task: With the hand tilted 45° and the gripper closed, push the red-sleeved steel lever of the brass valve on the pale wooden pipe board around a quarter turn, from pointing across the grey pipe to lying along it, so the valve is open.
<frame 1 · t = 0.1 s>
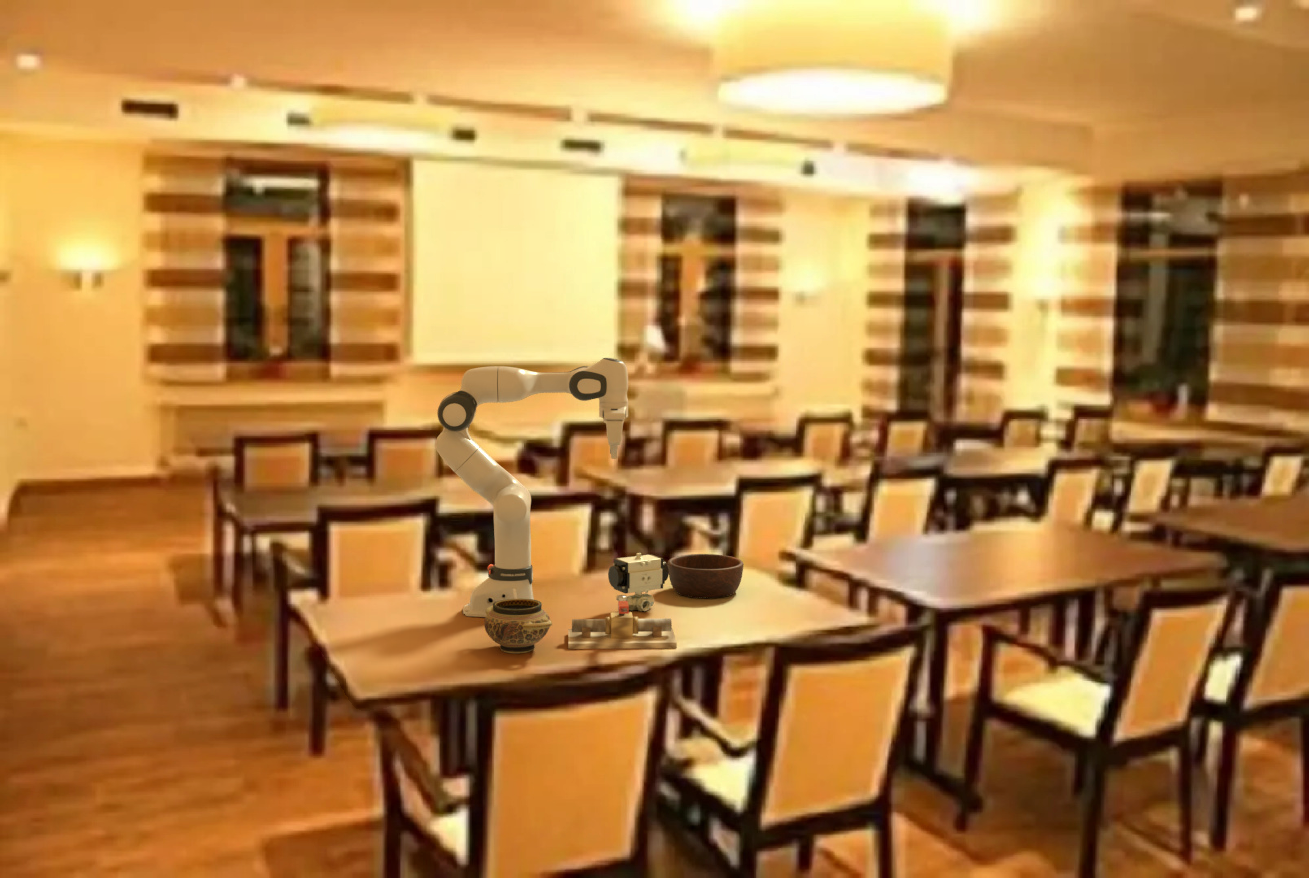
hand: (613, 456, 386), 48 cm above the table, tool pointing down, fingers open, 8 cm apart
pipe board: (621, 640, 357), on the table
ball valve: (639, 610, 392), on the table
wooden bowl: (705, 592, 416), on the table
valve lever: (622, 603, 349), point 12 cm above the table, hinge at 0.0°
ceramic bowl: (517, 649, 348), on the table
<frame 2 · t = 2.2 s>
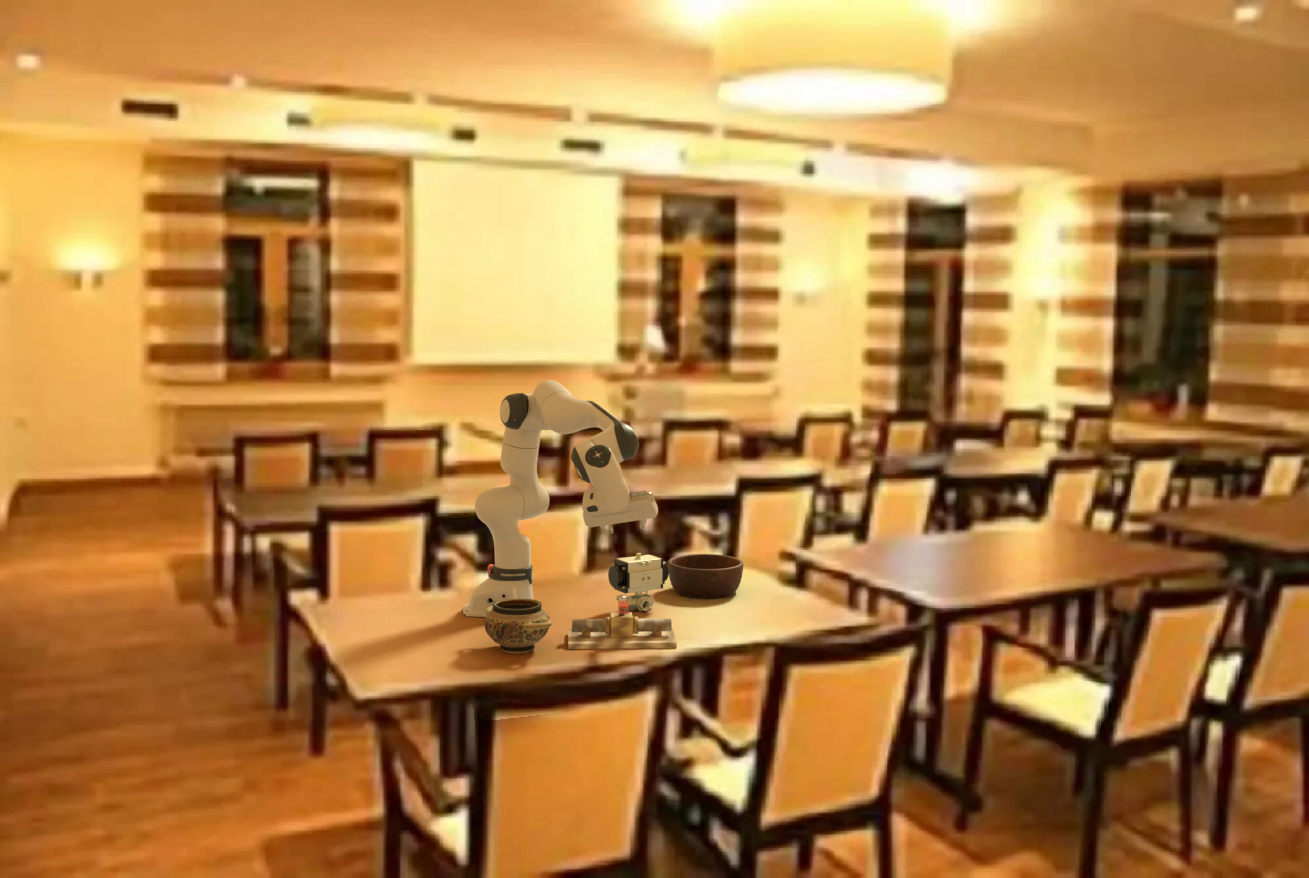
hand: (627, 529, 346), 33 cm above the table, tool tilted 40°, fingers open, 8 cm apart
nothing on the table moved.
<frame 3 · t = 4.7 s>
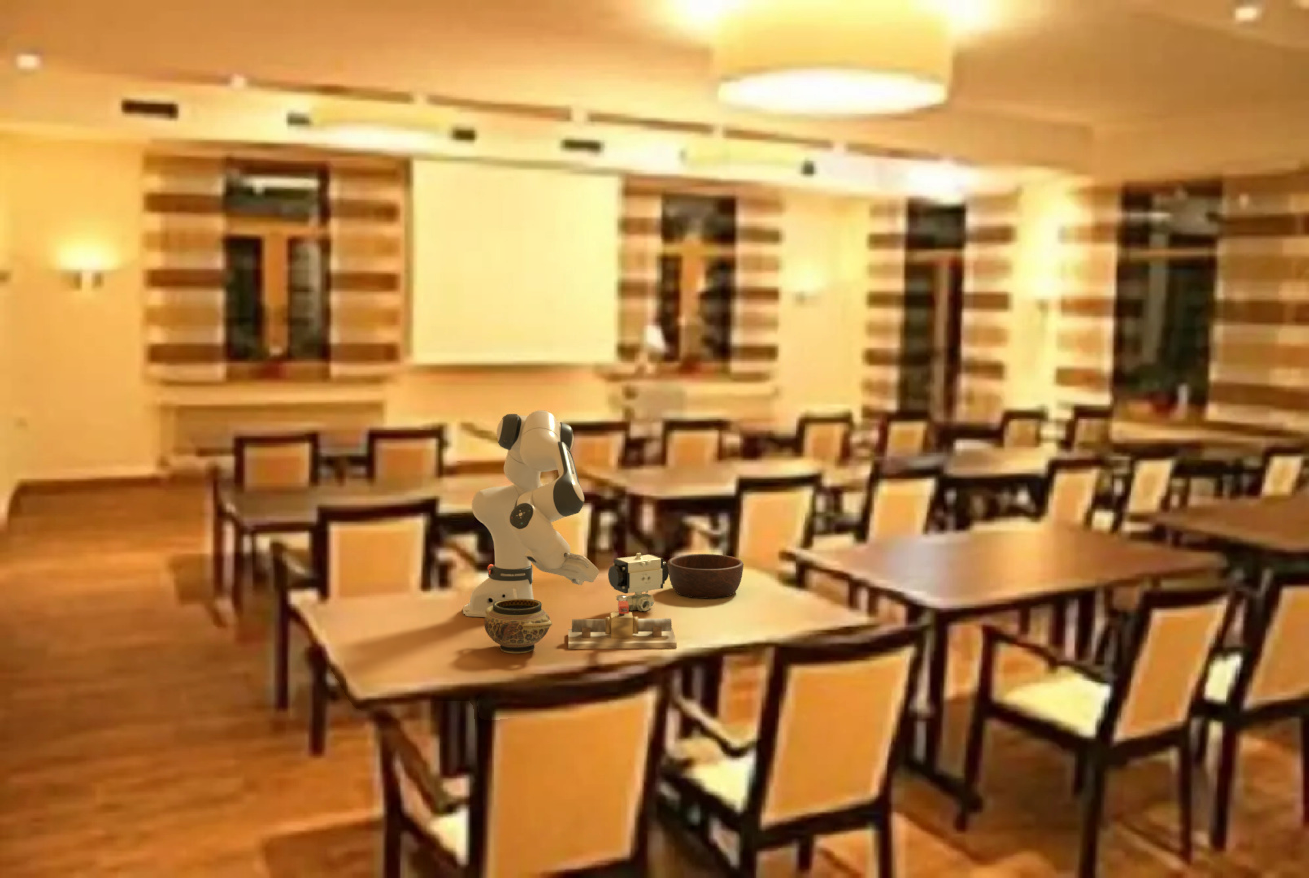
hand: (579, 582, 334), 22 cm above the table, tool tilted 45°, fingers closed
nothing on the table moved.
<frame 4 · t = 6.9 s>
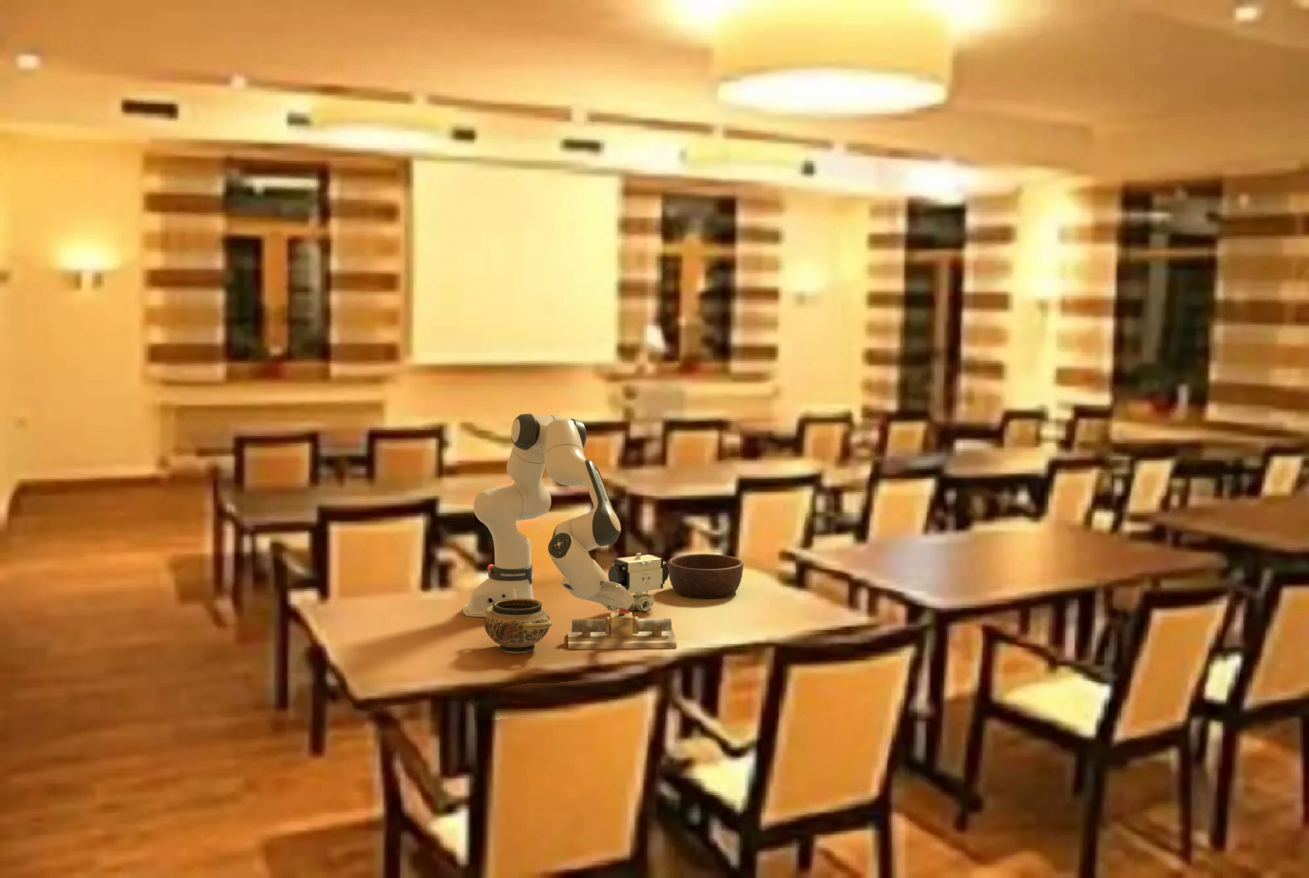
hand: (613, 608, 344), 12 cm above the table, tool tilted 45°, fingers closed
valve lever: (622, 603, 349), point 12 cm above the table, hinge at 0.3°, touching gripper
everything else where it was.
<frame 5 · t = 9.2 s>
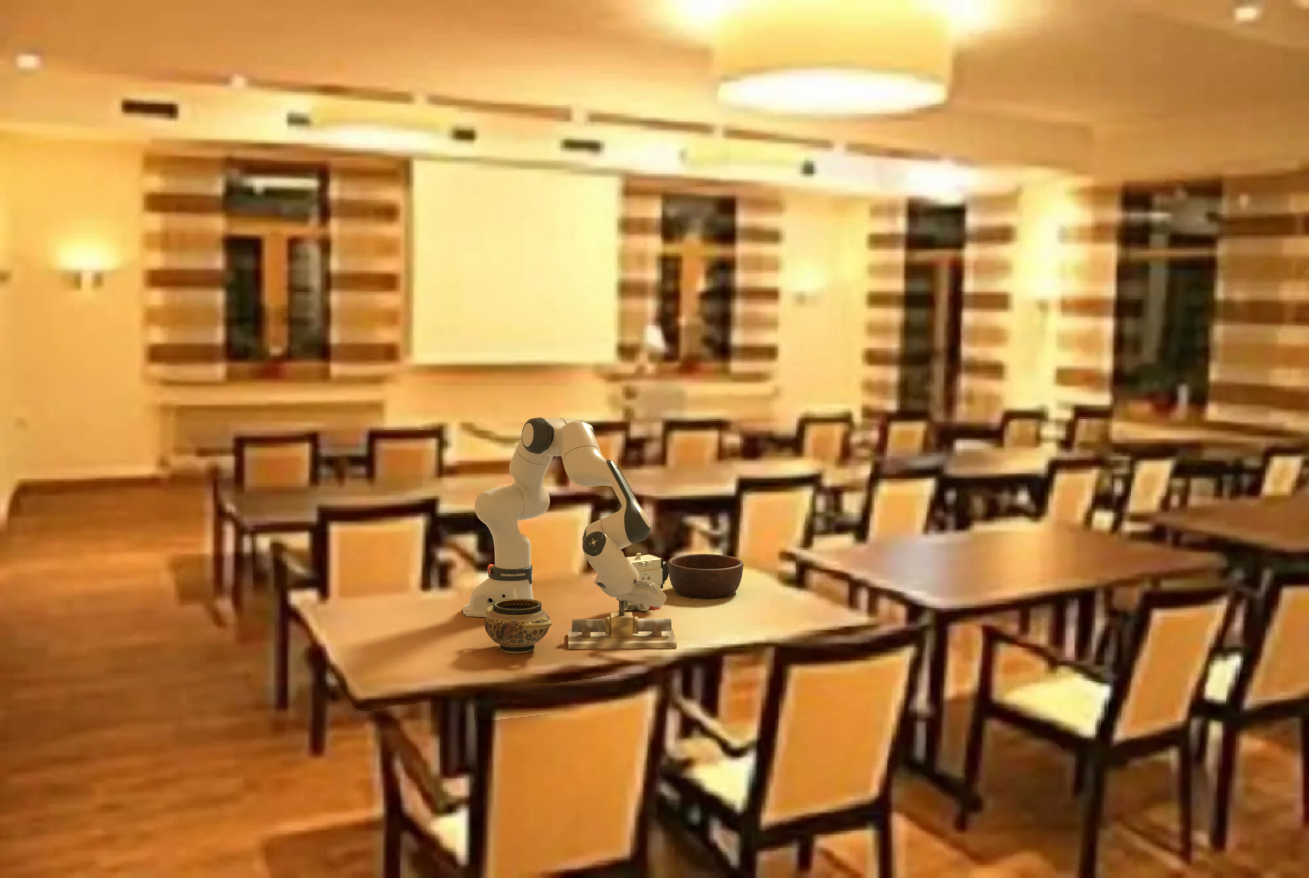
hand: (645, 607, 347), 12 cm above the table, tool tilted 45°, fingers closed, pressing on valve lever
valve lever: (637, 601, 351), point 12 cm above the table, hinge at 44.1°, touching gripper
everything else where it was.
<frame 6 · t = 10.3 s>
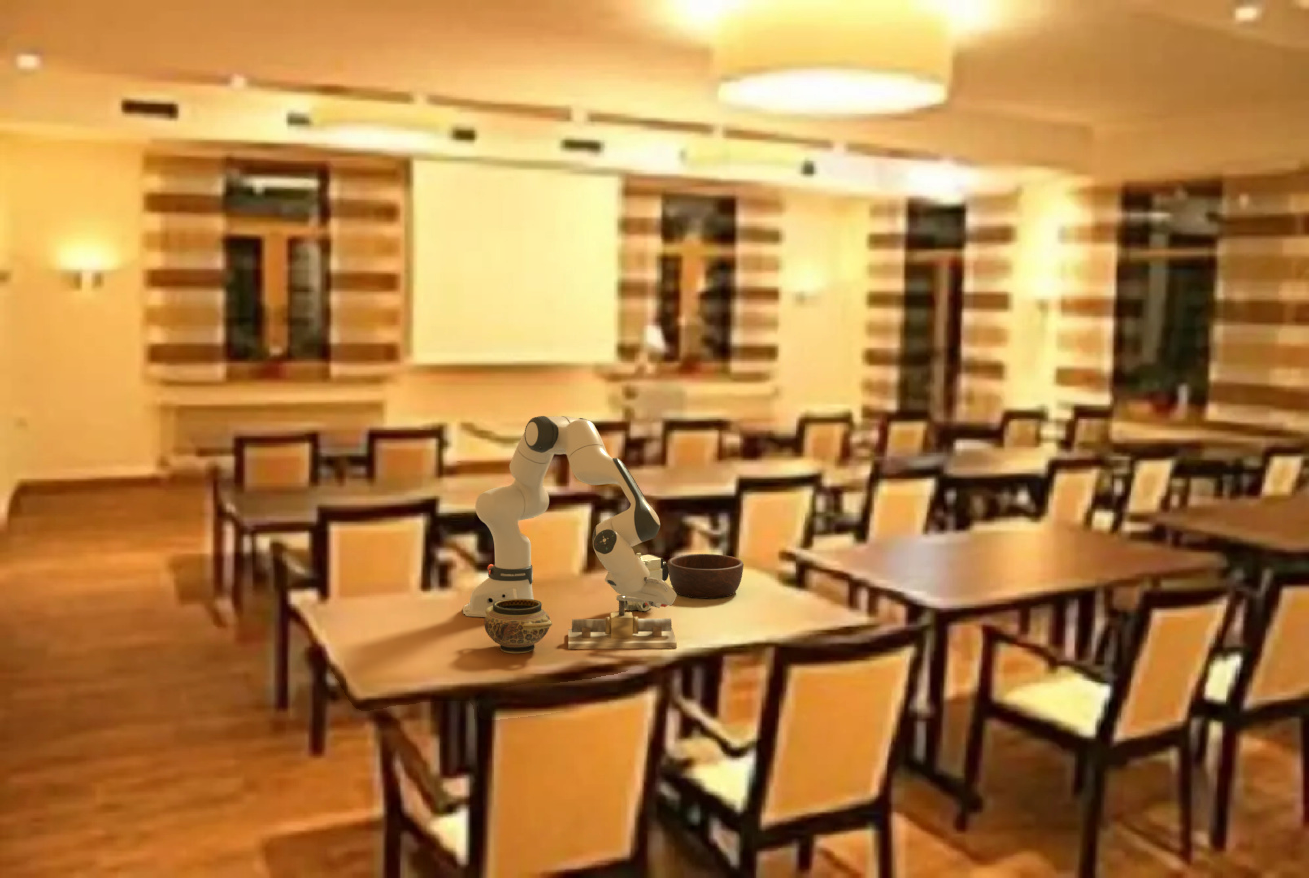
hand: (655, 605, 349), 12 cm above the table, tool tilted 45°, fingers closed
valve lever: (641, 599, 353), point 12 cm above the table, hinge at 66.0°, touching gripper
everything else where it was.
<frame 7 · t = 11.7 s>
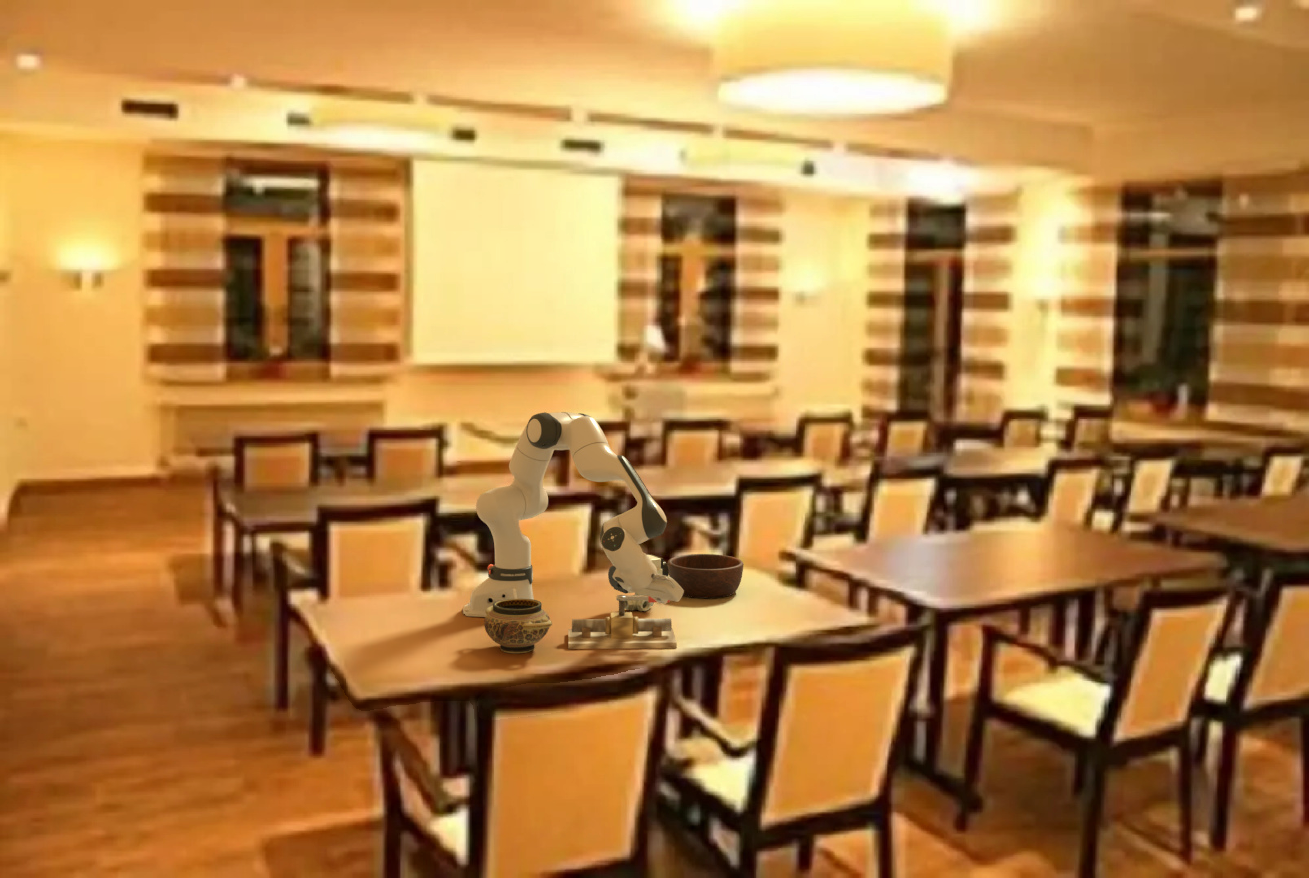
hand: (663, 601, 353), 12 cm above the table, tool tilted 45°, fingers closed
valve lever: (643, 597, 356), point 12 cm above the table, hinge at 89.0°, touching gripper
everything else where it was.
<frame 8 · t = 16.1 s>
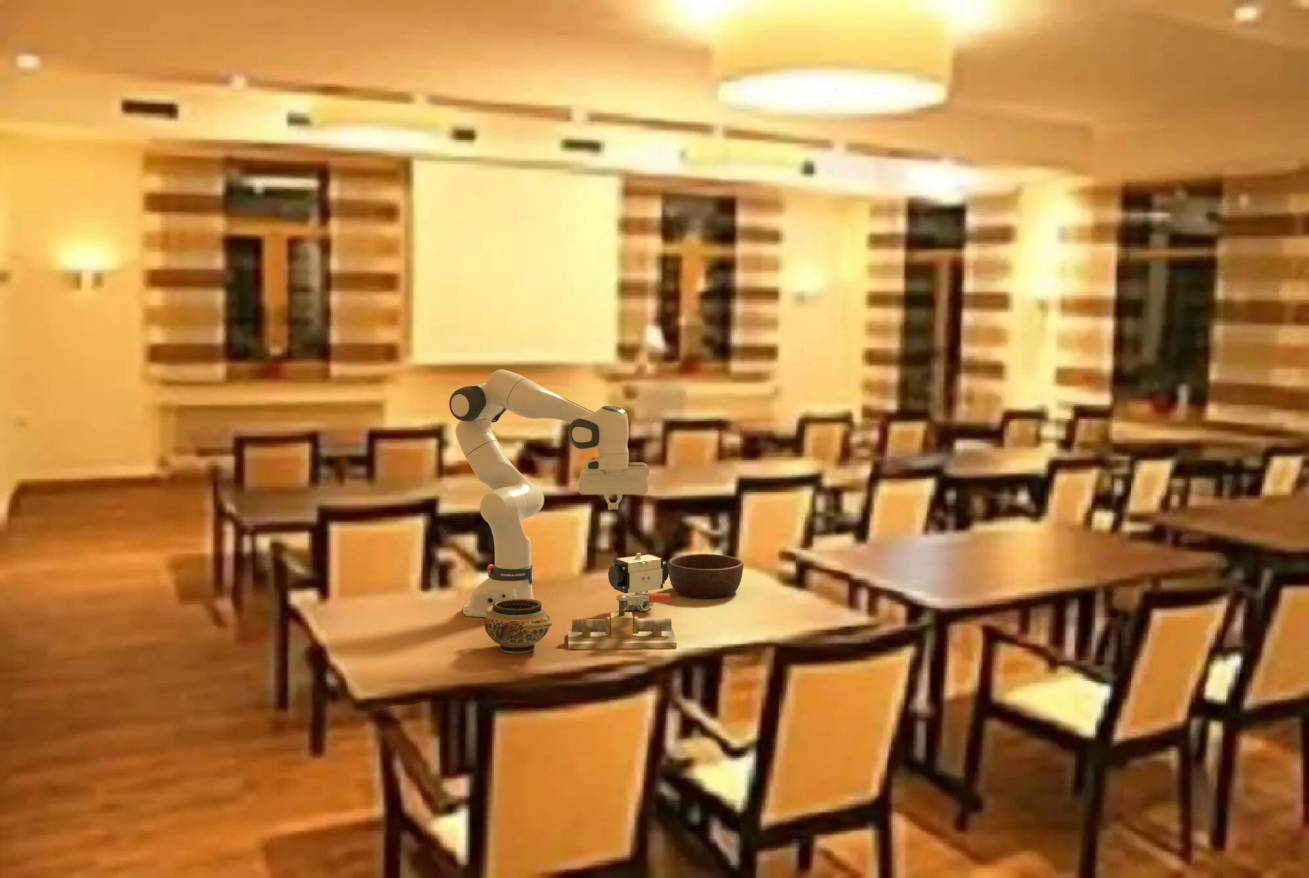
hand: (613, 509, 367), 35 cm above the table, tool pointing down, fingers closed
valve lever: (643, 597, 356), point 12 cm above the table, hinge at 89.0°
everything else where it was.
at the end: valve lever at +89° (first picture: +0°); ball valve moved 0.2 cm from its start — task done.
